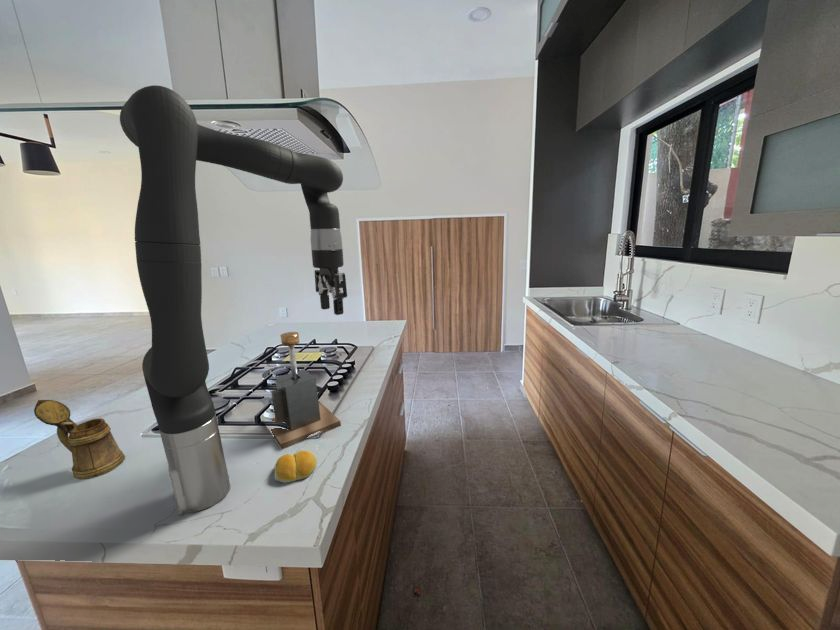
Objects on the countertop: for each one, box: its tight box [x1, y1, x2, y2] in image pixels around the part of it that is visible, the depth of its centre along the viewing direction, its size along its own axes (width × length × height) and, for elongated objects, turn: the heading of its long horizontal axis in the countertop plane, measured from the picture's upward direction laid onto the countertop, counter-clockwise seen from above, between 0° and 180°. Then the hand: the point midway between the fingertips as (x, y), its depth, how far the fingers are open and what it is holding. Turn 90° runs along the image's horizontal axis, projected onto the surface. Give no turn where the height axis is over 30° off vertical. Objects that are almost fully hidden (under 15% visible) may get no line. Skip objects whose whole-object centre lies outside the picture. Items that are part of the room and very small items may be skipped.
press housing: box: [270, 369, 321, 431], centre depth 93 cm, size 10×8×13 cm
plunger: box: [280, 331, 300, 380], centre depth 91 cm, size 6×6×14 cm
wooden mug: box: [33, 399, 126, 480], centre depth 79 cm, size 9×14×18 cm, turn 93°
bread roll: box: [274, 450, 318, 484], centre depth 77 cm, size 8×9×4 cm
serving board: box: [271, 400, 342, 450], centre depth 96 cm, size 16×16×2 cm
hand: (332, 311), depth 89 cm, fingers open, 8 cm apart
